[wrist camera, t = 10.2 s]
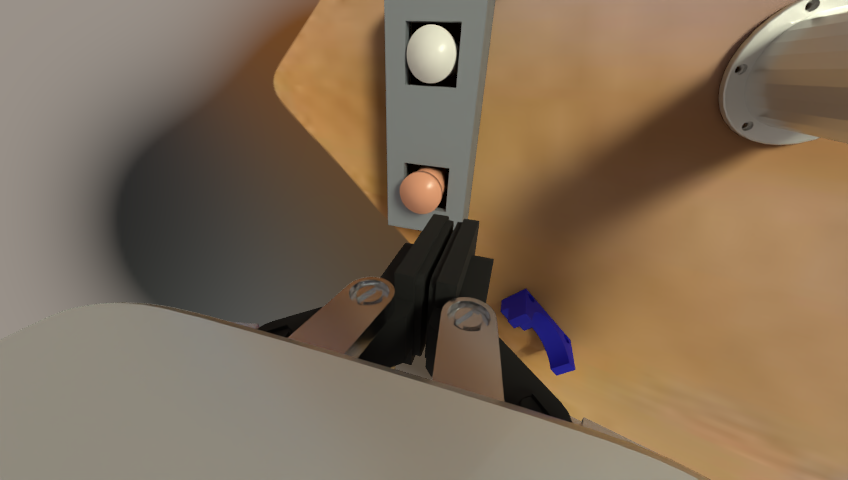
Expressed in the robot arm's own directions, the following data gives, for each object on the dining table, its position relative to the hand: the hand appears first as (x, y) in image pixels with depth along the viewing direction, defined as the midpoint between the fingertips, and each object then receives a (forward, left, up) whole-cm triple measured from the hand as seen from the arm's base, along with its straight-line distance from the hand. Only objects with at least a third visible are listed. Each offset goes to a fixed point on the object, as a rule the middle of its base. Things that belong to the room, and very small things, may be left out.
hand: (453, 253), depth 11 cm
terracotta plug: (+8, +7, -29) cm, 30 cm away
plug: (+8, -7, -30) cm, 32 cm away
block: (+8, 0, -31) cm, 32 cm away
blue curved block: (-10, +29, -31) cm, 44 cm away
